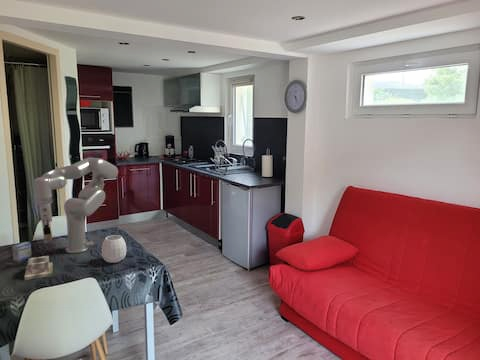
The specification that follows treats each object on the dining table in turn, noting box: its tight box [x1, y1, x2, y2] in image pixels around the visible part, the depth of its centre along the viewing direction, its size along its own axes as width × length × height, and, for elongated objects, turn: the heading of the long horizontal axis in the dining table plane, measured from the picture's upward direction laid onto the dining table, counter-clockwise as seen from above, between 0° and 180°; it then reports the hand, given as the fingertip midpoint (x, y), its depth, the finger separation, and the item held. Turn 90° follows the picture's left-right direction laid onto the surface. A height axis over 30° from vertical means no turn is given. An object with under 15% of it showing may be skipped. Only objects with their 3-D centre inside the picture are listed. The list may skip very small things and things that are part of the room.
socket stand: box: [24, 255, 54, 281], centre depth 182 cm, size 12×14×6 cm
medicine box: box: [11, 241, 33, 263], centre depth 197 cm, size 8×4×9 cm, turn 160°
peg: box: [41, 221, 53, 244], centre depth 191 cm, size 4×4×14 cm
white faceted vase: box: [101, 234, 127, 264], centre depth 198 cm, size 13×13×14 cm
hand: (47, 232), depth 192 cm, fingers closed on peg, 4 cm apart
